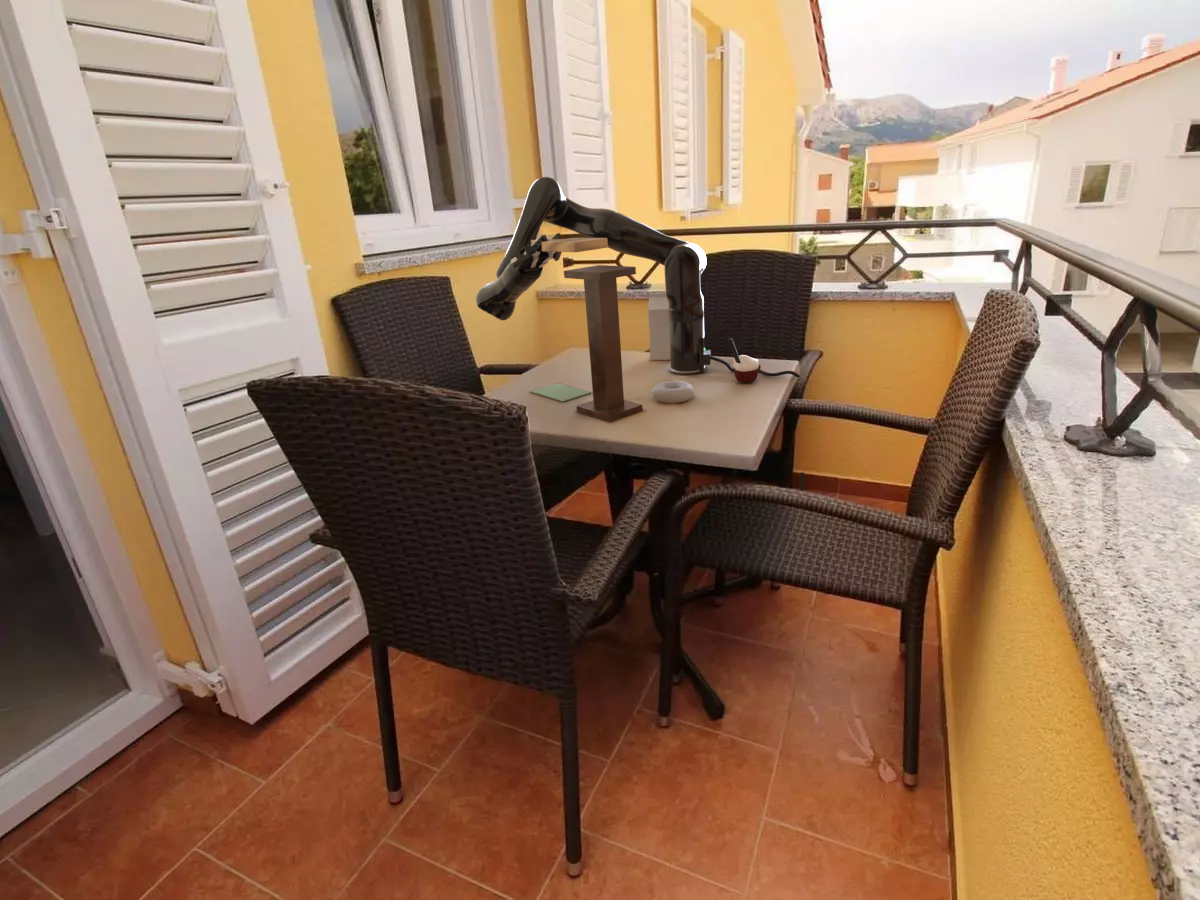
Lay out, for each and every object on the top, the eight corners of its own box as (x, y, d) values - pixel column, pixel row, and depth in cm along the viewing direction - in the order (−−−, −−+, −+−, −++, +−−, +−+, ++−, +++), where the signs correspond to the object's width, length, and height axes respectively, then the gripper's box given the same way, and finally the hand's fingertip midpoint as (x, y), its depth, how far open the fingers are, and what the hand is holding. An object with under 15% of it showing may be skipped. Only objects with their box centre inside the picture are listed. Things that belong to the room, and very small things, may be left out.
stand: (576, 411, 146) (563, 270, 134) (608, 401, 152) (598, 265, 140) (610, 422, 138) (599, 273, 126) (643, 410, 144) (635, 266, 132)
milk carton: (674, 360, 184) (672, 294, 177) (650, 360, 185) (647, 295, 178) (676, 354, 190) (674, 290, 183) (653, 354, 192) (650, 291, 185)
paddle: (522, 250, 145) (521, 241, 144) (553, 246, 150) (552, 237, 149) (575, 252, 130) (574, 242, 130) (607, 247, 136) (607, 237, 135)
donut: (689, 406, 145) (697, 392, 153) (689, 392, 143) (697, 378, 152) (647, 404, 148) (657, 391, 156) (646, 390, 146) (657, 378, 155)
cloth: (530, 392, 164) (530, 391, 164) (558, 384, 169) (558, 383, 169) (562, 402, 154) (562, 401, 154) (591, 393, 159) (590, 392, 159)
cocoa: (758, 376, 162) (759, 330, 158) (766, 383, 156) (768, 335, 152) (722, 380, 161) (722, 334, 157) (729, 387, 156) (729, 339, 151)
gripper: (491, 263, 152) (521, 225, 138) (538, 256, 160) (571, 219, 146) (502, 291, 152) (534, 256, 138) (549, 283, 160) (583, 249, 146)
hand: (553, 237), depth 142 cm, fingers closed on paddle, 3 cm apart
